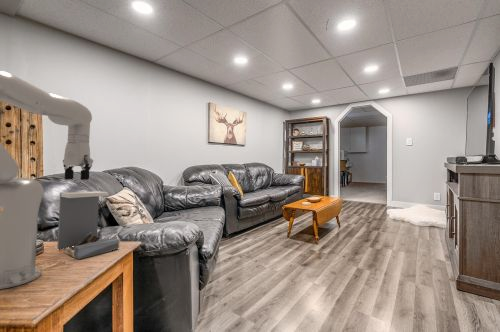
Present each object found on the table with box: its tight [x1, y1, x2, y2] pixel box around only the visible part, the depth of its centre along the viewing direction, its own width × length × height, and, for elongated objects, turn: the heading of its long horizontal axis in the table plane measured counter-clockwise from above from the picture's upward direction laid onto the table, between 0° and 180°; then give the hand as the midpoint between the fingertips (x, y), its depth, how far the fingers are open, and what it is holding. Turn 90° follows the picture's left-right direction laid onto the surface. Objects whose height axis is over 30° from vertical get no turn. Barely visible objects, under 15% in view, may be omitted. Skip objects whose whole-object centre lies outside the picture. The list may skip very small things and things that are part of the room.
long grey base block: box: [64, 237, 120, 261], centre depth 96 cm, size 12×15×4 cm
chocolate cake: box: [71, 231, 102, 250], centre depth 99 cm, size 10×7×12 cm
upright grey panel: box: [57, 190, 109, 250], centre depth 102 cm, size 10×15×24 cm, turn 148°
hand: (76, 179), depth 97 cm, fingers open, 9 cm apart
